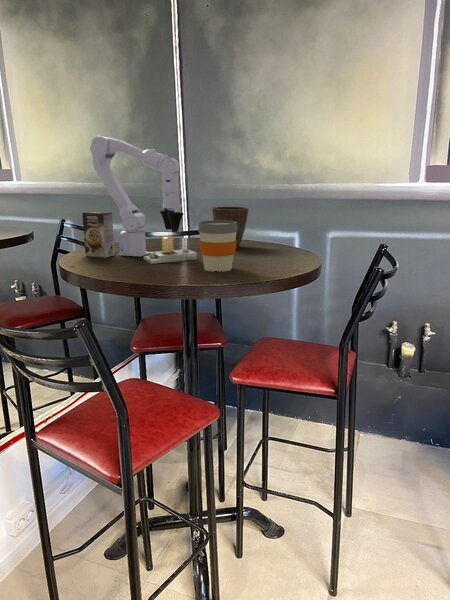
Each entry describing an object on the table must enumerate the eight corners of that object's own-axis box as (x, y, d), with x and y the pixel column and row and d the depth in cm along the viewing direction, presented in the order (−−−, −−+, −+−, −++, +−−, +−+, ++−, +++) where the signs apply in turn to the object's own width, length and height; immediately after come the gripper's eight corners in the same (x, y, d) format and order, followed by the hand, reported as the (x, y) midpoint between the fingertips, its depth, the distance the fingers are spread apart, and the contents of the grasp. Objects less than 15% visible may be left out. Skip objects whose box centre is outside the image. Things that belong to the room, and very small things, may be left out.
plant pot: (213, 244, 202) (213, 206, 197) (247, 244, 201) (248, 206, 197) (210, 250, 187) (210, 209, 183) (248, 250, 187) (248, 209, 182)
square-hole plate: (151, 263, 161) (150, 254, 160) (143, 259, 169) (143, 250, 168) (196, 259, 168) (196, 250, 167) (187, 255, 176) (187, 246, 175)
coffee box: (84, 256, 175) (81, 212, 170) (95, 253, 180) (91, 210, 176) (105, 257, 172) (102, 213, 167) (115, 254, 177) (112, 211, 173)
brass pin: (160, 260, 167) (159, 237, 165) (165, 258, 170) (164, 236, 168) (170, 261, 165) (170, 238, 163) (175, 259, 169) (175, 236, 167)
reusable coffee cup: (200, 264, 159) (199, 220, 155) (237, 264, 159) (237, 220, 155) (197, 272, 147) (196, 224, 143) (237, 272, 147) (237, 224, 143)
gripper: (188, 193, 164) (188, 232, 168) (174, 191, 177) (175, 227, 181) (168, 194, 161) (170, 233, 165) (156, 192, 174) (158, 228, 178)
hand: (171, 230), depth 173 cm, fingers open, 7 cm apart
